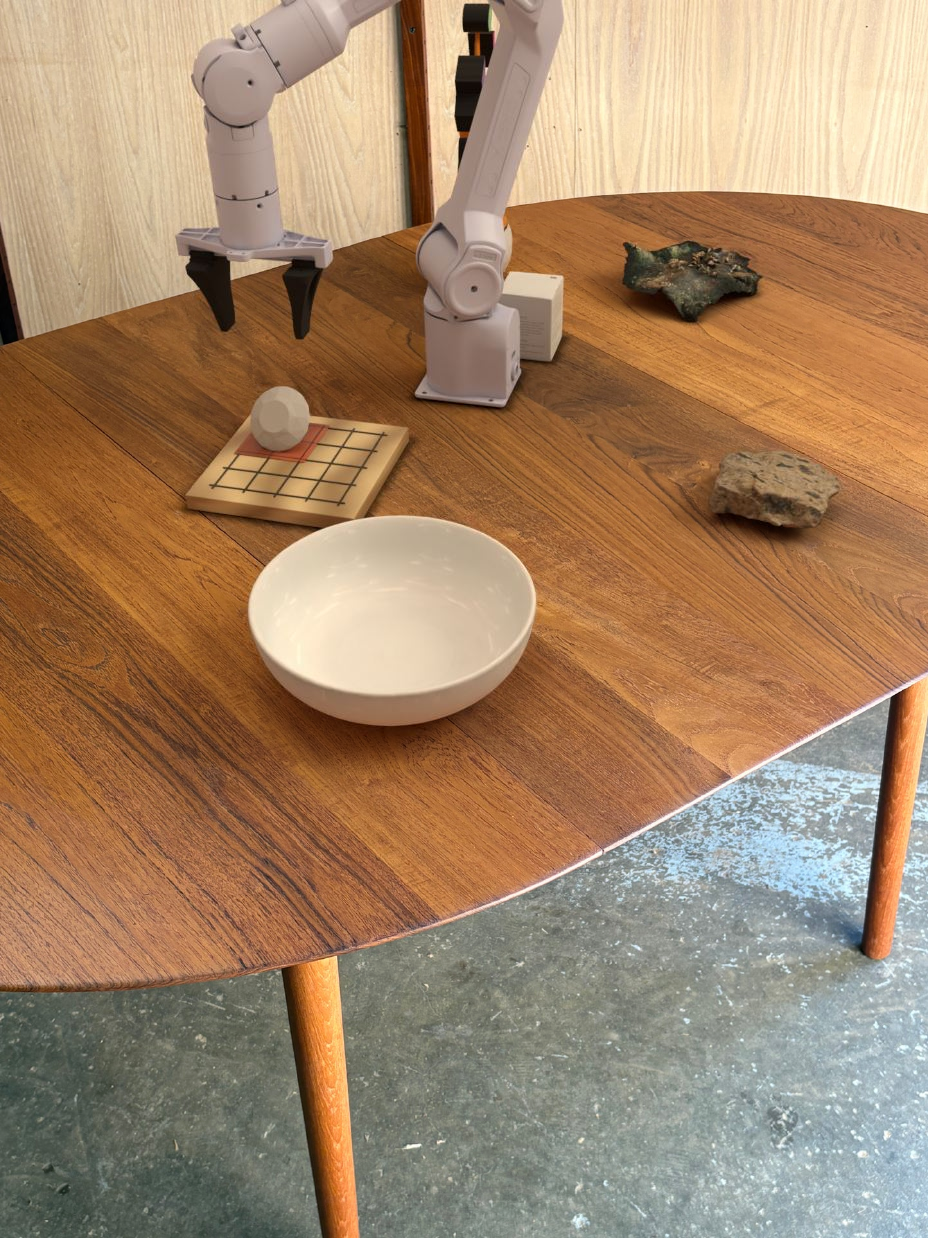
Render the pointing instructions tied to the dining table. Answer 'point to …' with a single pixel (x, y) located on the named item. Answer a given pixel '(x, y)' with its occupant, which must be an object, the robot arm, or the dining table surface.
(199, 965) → the dining table surface
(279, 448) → the gemstone
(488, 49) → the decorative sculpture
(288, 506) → the board
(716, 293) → the decorative rock
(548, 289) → the product box
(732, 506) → the rock
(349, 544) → the serving bowl
